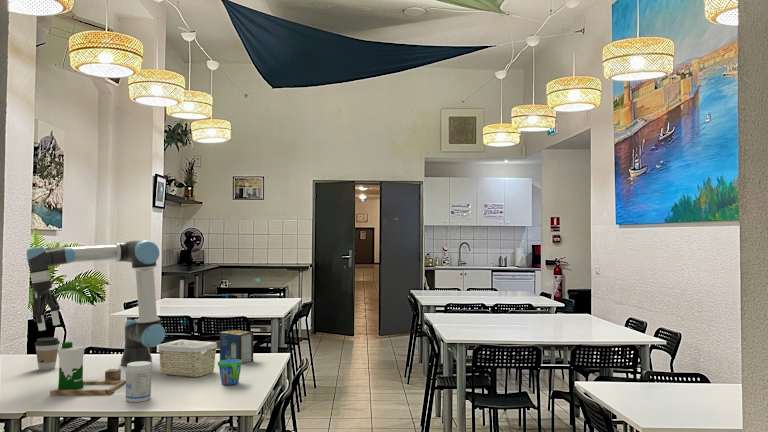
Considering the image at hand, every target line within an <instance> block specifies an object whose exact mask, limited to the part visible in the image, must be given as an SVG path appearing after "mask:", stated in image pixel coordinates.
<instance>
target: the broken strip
mask: <svg viewBox="0 0 768 432" xmlns="http://www.w3.org/2000/svg"><path fill="white" fill-rule="evenodd" d="M83 381H99V380H98V379H93V380H92V379H91V380H90V379H88V380H86V379H85V380H84V379H83ZM103 381H105V379H104V380H103ZM120 381H125V379H121V380H120Z"/></svg>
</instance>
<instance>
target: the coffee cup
mask: <svg viewBox="0 0 768 432" xmlns="http://www.w3.org/2000/svg"><path fill="white" fill-rule="evenodd" d="M60 344H61V341H60V340H59V338H58V337H41V338H40V337H39V338H37V339H36V342H34V346H35V352H36V359H37V360H36V361H37V367H38V370H39V371H51V370H54V369H56V366H57V365H56V364H57V359H58V350H57V349H59V347H60V346H59V345H60ZM50 369H51V370H50Z"/></svg>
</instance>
